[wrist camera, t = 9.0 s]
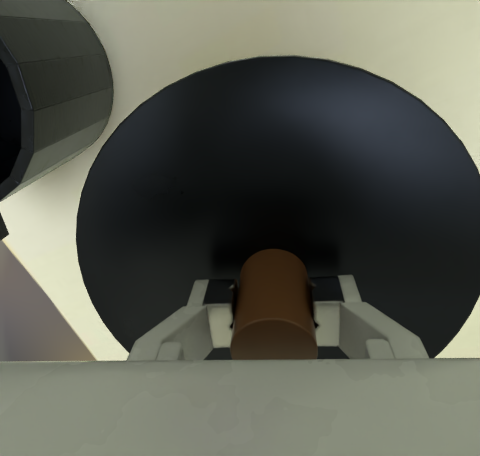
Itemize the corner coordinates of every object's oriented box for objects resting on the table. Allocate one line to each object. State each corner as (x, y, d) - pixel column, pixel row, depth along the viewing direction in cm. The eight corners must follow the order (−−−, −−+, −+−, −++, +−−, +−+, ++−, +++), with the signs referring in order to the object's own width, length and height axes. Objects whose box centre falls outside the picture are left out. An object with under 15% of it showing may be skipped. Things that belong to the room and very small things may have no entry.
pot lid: (134, 392, 20) (92, 497, 16) (36, 77, 13) (-92, 99, 9) (444, 392, 18) (502, 512, 14) (520, 29, 11) (687, 23, 7)
